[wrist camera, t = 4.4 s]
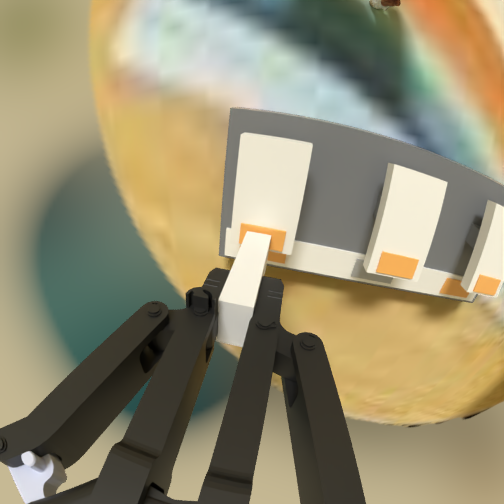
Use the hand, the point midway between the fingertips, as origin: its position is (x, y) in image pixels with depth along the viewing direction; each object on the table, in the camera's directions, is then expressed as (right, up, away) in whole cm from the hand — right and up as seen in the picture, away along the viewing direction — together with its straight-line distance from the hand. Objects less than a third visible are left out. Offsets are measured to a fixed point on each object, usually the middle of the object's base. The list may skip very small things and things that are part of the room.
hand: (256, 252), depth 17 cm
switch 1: (+1, +3, -1) cm, 4 cm away
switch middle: (+10, +2, -2) cm, 10 cm away
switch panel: (+10, +3, +2) cm, 11 cm away
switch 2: (+18, 0, -3) cm, 19 cm away
